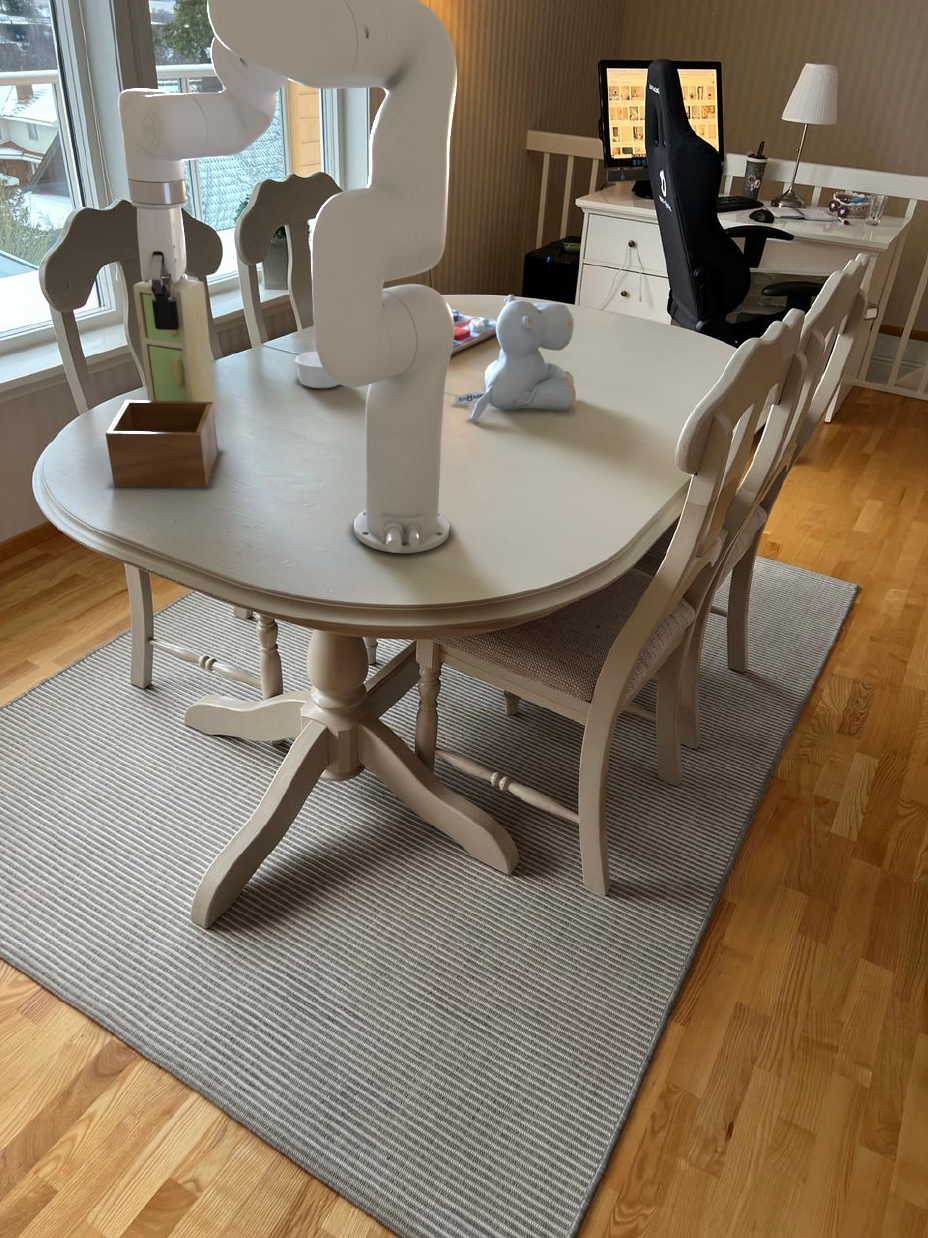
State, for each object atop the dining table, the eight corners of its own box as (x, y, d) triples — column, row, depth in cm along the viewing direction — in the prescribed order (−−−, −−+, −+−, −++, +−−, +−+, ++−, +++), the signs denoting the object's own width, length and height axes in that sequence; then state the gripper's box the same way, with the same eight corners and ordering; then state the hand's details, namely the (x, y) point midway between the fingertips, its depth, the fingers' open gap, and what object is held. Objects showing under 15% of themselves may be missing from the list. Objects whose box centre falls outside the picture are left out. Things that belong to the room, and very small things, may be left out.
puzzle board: (419, 310, 215) (420, 299, 213) (507, 330, 205) (508, 318, 204) (338, 341, 192) (338, 328, 191) (432, 364, 183) (433, 351, 181)
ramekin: (291, 387, 168) (290, 364, 166) (301, 372, 175) (300, 349, 173) (340, 391, 168) (340, 367, 165) (348, 375, 175) (348, 352, 173)
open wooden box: (206, 488, 132) (200, 434, 128) (114, 486, 131) (105, 432, 127) (218, 452, 143) (213, 401, 139) (132, 450, 142) (125, 399, 137)
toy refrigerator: (146, 425, 144) (129, 284, 133) (172, 409, 150) (157, 274, 139) (193, 433, 143) (179, 292, 131) (217, 417, 149) (206, 281, 137)
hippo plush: (593, 413, 165) (607, 307, 155) (471, 423, 158) (477, 312, 148) (552, 379, 179) (563, 280, 169) (438, 386, 173) (442, 283, 163)
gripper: (142, 181, 135) (157, 303, 145) (116, 202, 121) (134, 336, 131) (195, 183, 136) (207, 304, 146) (175, 205, 122) (189, 338, 131)
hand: (172, 319), depth 138 cm, fingers closed on toy refrigerator, 8 cm apart
